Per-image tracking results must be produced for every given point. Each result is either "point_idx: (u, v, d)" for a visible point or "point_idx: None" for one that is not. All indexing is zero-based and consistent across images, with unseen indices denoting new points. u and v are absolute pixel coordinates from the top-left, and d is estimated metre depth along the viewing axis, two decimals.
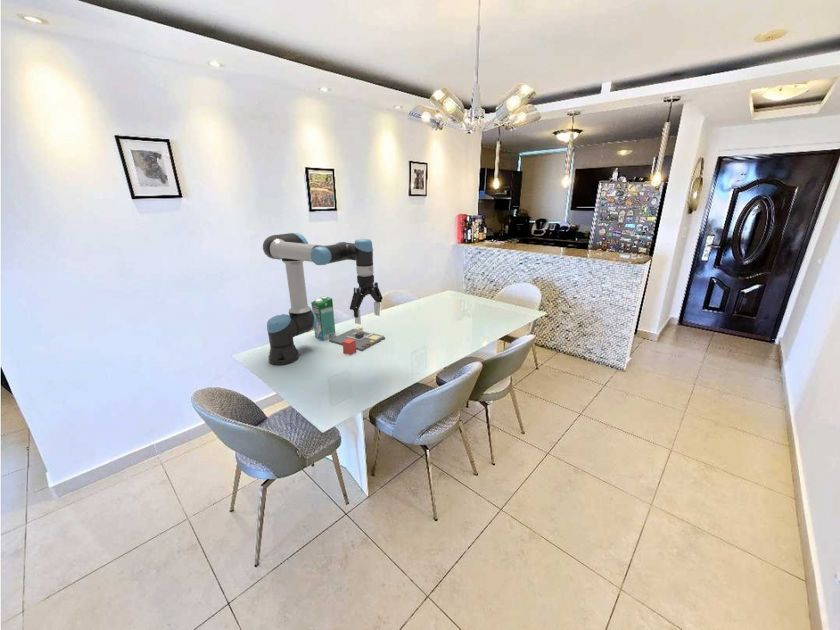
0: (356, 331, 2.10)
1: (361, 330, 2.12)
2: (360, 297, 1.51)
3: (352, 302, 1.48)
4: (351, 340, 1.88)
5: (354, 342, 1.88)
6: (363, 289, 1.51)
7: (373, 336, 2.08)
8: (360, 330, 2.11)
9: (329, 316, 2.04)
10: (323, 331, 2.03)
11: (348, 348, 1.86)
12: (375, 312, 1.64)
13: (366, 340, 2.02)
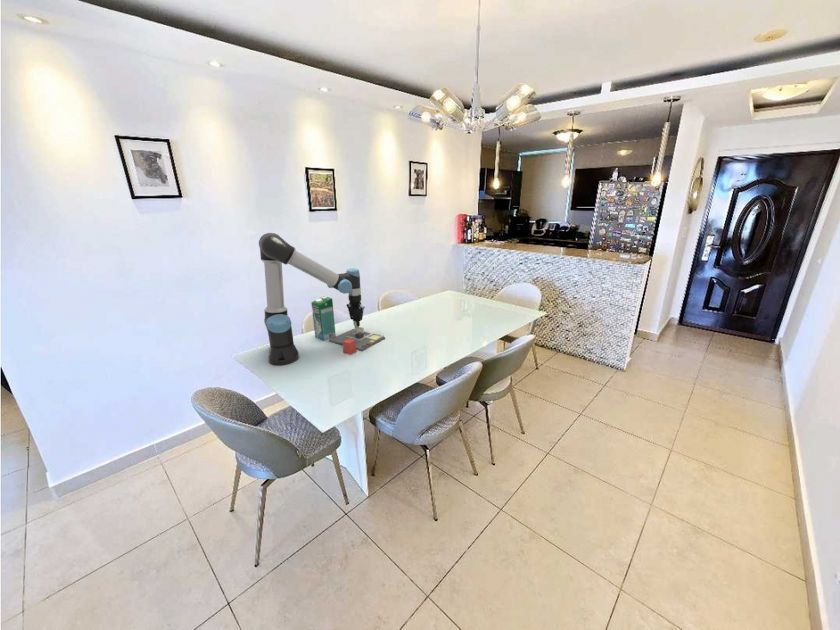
0: (357, 331, 2.10)
1: (362, 330, 2.11)
2: None
3: None
4: (351, 340, 1.88)
5: (354, 342, 1.88)
6: (350, 303, 2.07)
7: (373, 336, 2.08)
8: (361, 330, 2.10)
9: (329, 316, 2.04)
10: (323, 331, 2.03)
11: (348, 348, 1.86)
12: None
13: (366, 340, 2.02)
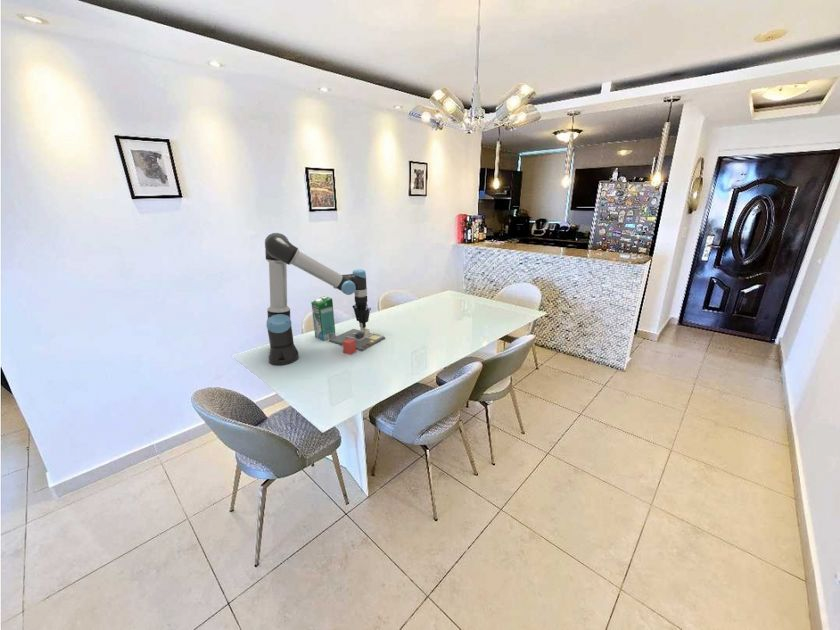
0: None
1: (368, 332, 2.09)
2: None
3: None
4: (351, 340, 1.88)
5: (354, 342, 1.88)
6: (356, 304, 2.05)
7: (373, 336, 2.08)
8: (367, 332, 2.08)
9: (329, 316, 2.04)
10: (323, 331, 2.03)
11: (348, 348, 1.86)
12: None
13: (366, 340, 2.02)
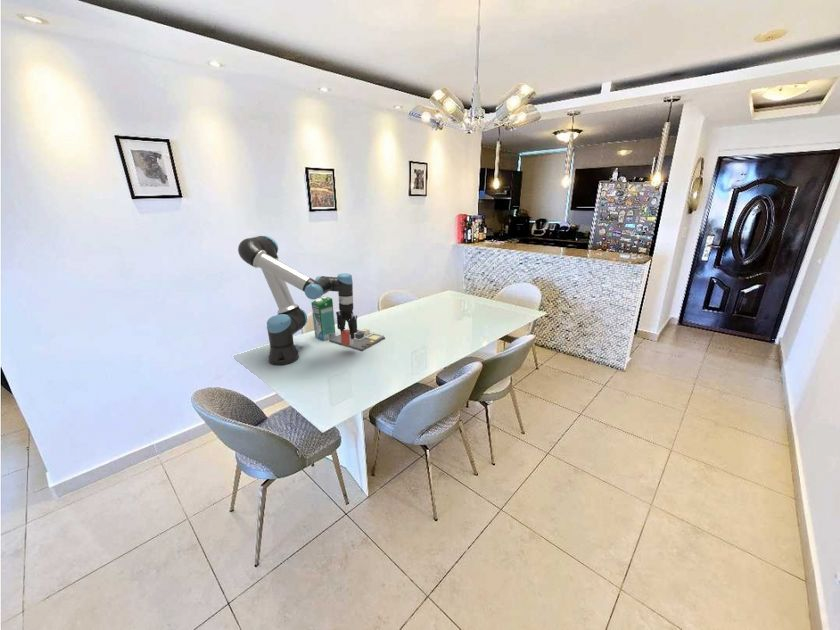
0: None
1: (368, 332, 2.09)
2: None
3: None
4: (349, 331, 1.86)
5: None
6: (341, 312, 1.83)
7: (373, 336, 2.08)
8: (367, 332, 2.08)
9: (329, 316, 2.04)
10: (323, 331, 2.03)
11: (346, 339, 1.84)
12: None
13: (366, 340, 2.02)
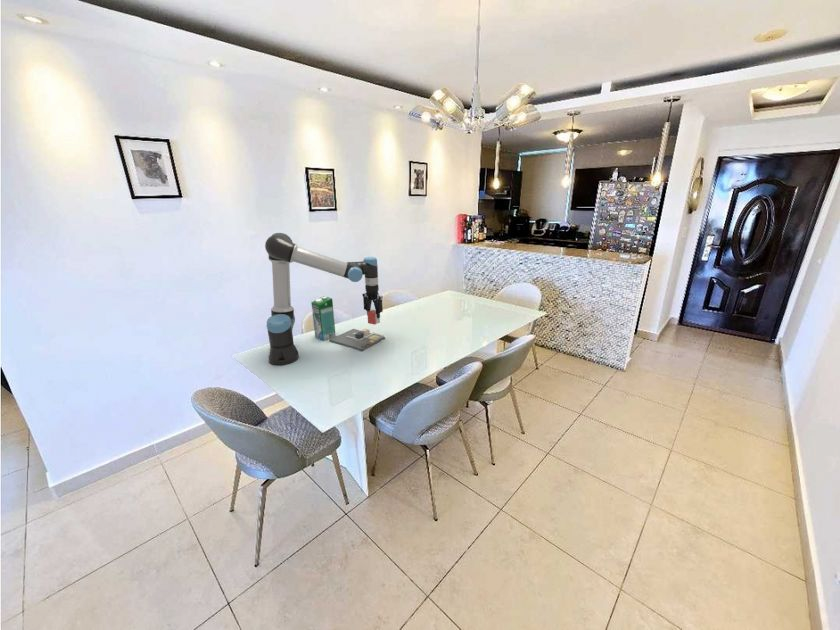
0: None
1: (368, 332, 2.09)
2: None
3: None
4: (375, 311, 2.01)
5: None
6: (367, 294, 1.98)
7: (373, 336, 2.08)
8: (367, 332, 2.08)
9: (329, 316, 2.04)
10: (323, 331, 2.03)
11: (373, 318, 1.99)
12: None
13: (366, 340, 2.02)
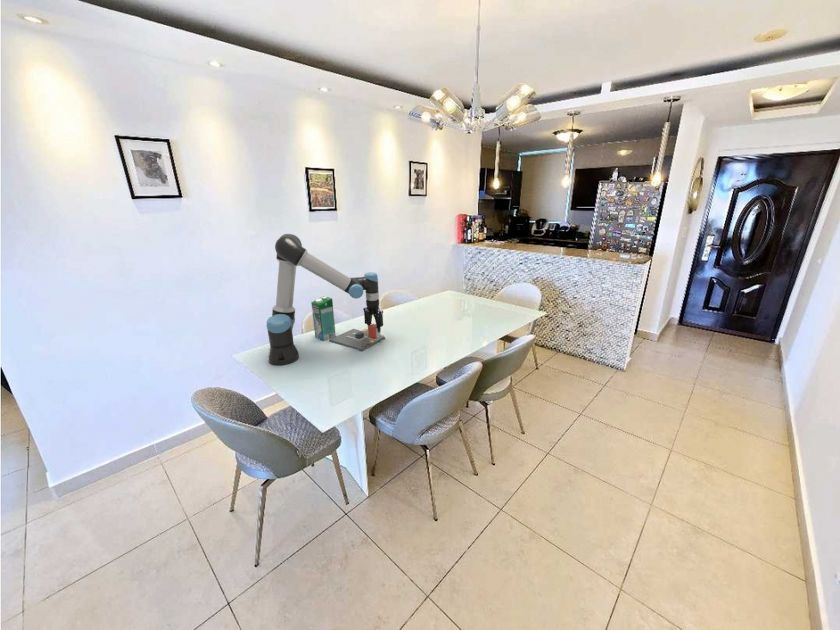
0: None
1: (368, 332, 2.09)
2: None
3: None
4: None
5: None
6: (368, 308, 2.01)
7: None
8: (367, 332, 2.08)
9: (329, 316, 2.04)
10: (323, 331, 2.03)
11: (373, 332, 2.02)
12: None
13: (366, 340, 2.02)
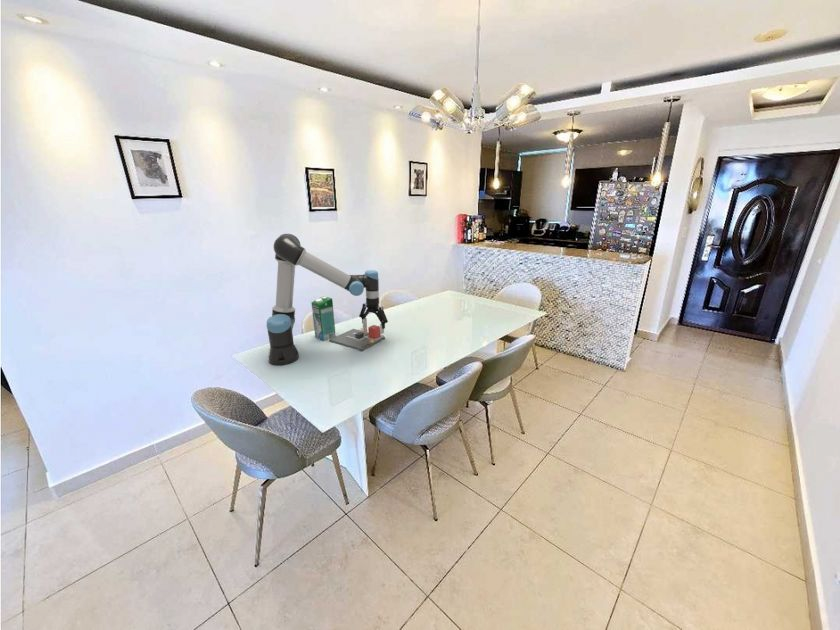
0: None
1: (366, 331, 2.10)
2: None
3: None
4: (376, 326, 2.04)
5: (379, 328, 2.04)
6: (367, 306, 2.00)
7: None
8: (365, 331, 2.09)
9: (329, 316, 2.04)
10: (323, 331, 2.03)
11: (373, 333, 2.02)
12: None
13: (366, 340, 2.02)
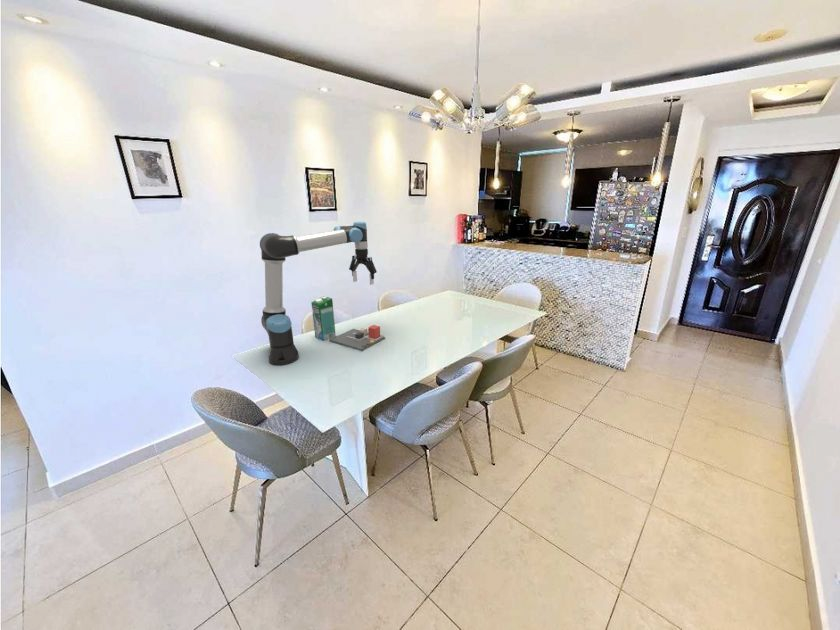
0: None
1: (366, 331, 2.10)
2: None
3: None
4: (376, 326, 2.04)
5: (379, 328, 2.04)
6: (356, 258, 2.06)
7: None
8: (365, 331, 2.09)
9: (329, 316, 2.04)
10: (323, 331, 2.03)
11: (373, 333, 2.02)
12: None
13: (366, 340, 2.02)
